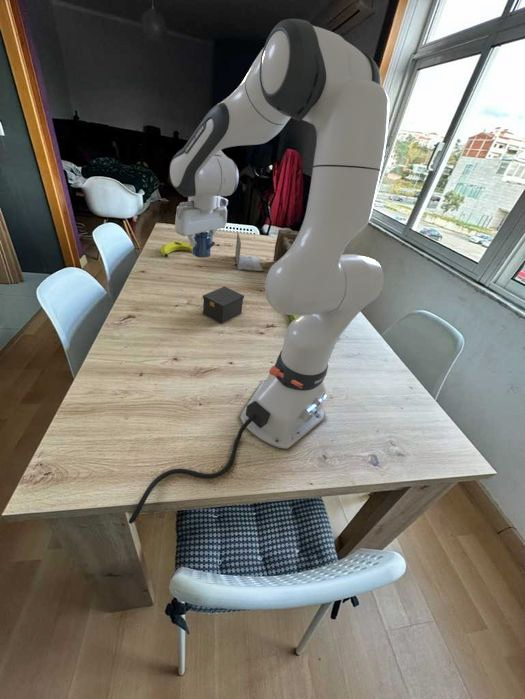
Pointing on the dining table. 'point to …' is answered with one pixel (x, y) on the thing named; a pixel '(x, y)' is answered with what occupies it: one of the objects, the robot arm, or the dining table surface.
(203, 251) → the teapot
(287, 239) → the ornamental box
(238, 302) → the black box
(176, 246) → the banana
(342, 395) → the dining table surface
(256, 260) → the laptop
